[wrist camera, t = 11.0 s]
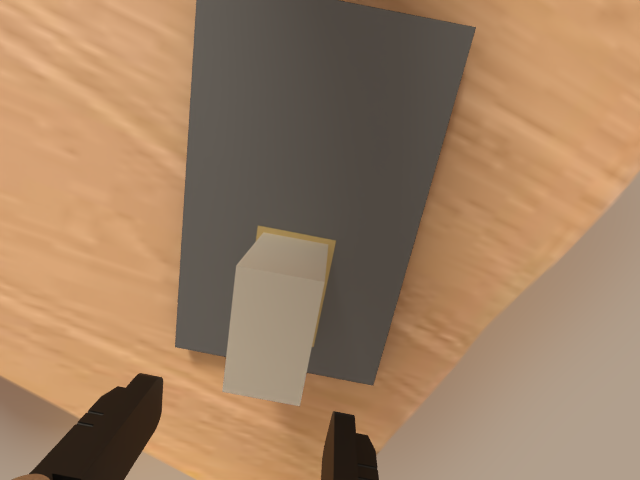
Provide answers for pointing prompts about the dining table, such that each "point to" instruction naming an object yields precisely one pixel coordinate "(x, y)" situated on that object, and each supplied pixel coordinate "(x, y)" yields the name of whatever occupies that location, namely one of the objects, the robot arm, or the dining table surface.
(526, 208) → the dining table surface
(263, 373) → the block
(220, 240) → the board
